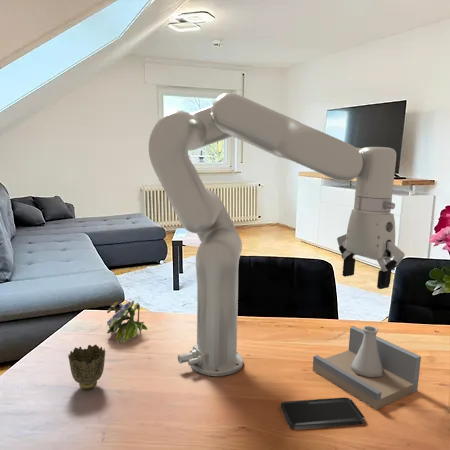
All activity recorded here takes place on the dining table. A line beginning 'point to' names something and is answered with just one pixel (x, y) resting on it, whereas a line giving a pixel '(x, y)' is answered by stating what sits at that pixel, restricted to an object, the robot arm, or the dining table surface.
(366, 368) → the flask
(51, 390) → the dining table surface
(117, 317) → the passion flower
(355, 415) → the phone
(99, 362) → the cup
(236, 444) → the dining table surface
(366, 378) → the wall shelf
